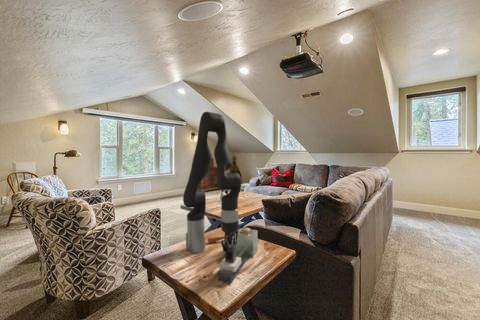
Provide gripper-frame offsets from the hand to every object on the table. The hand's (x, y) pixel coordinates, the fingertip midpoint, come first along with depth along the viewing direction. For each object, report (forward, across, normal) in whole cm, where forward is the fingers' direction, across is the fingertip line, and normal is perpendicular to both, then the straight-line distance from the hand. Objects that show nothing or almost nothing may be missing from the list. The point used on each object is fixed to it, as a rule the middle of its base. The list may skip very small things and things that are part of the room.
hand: (230, 257), depth 95 cm
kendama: (+8, -31, -17) cm, 36 cm away
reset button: (-1, -21, 0) cm, 21 cm away
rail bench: (+7, -9, 0) cm, 12 cm away
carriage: (+5, 0, 0) cm, 5 cm away
